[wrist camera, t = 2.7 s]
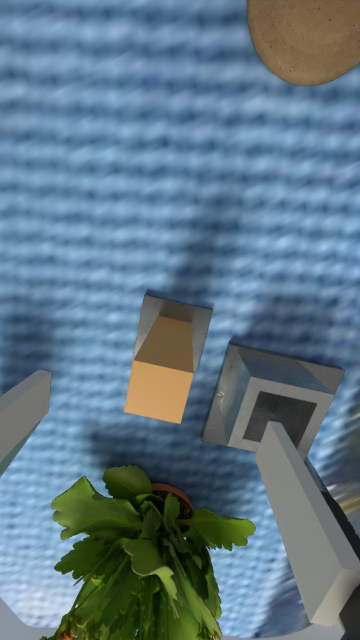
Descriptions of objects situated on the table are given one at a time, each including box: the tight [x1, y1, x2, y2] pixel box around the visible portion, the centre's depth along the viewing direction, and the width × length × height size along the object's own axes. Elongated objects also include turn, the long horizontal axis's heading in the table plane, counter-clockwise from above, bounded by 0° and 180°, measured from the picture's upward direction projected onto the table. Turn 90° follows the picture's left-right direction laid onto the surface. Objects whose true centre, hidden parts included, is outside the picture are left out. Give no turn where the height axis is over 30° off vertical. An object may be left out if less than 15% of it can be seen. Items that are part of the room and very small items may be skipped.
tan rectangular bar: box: [124, 316, 194, 424], centre depth 21 cm, size 4×4×12 cm
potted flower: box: [40, 465, 256, 640], centre depth 26 cm, size 25×24×18 cm
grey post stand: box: [201, 342, 346, 633], centre depth 19 cm, size 14×19×22 cm
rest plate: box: [133, 294, 213, 372], centre depth 27 cm, size 8×8×1 cm
